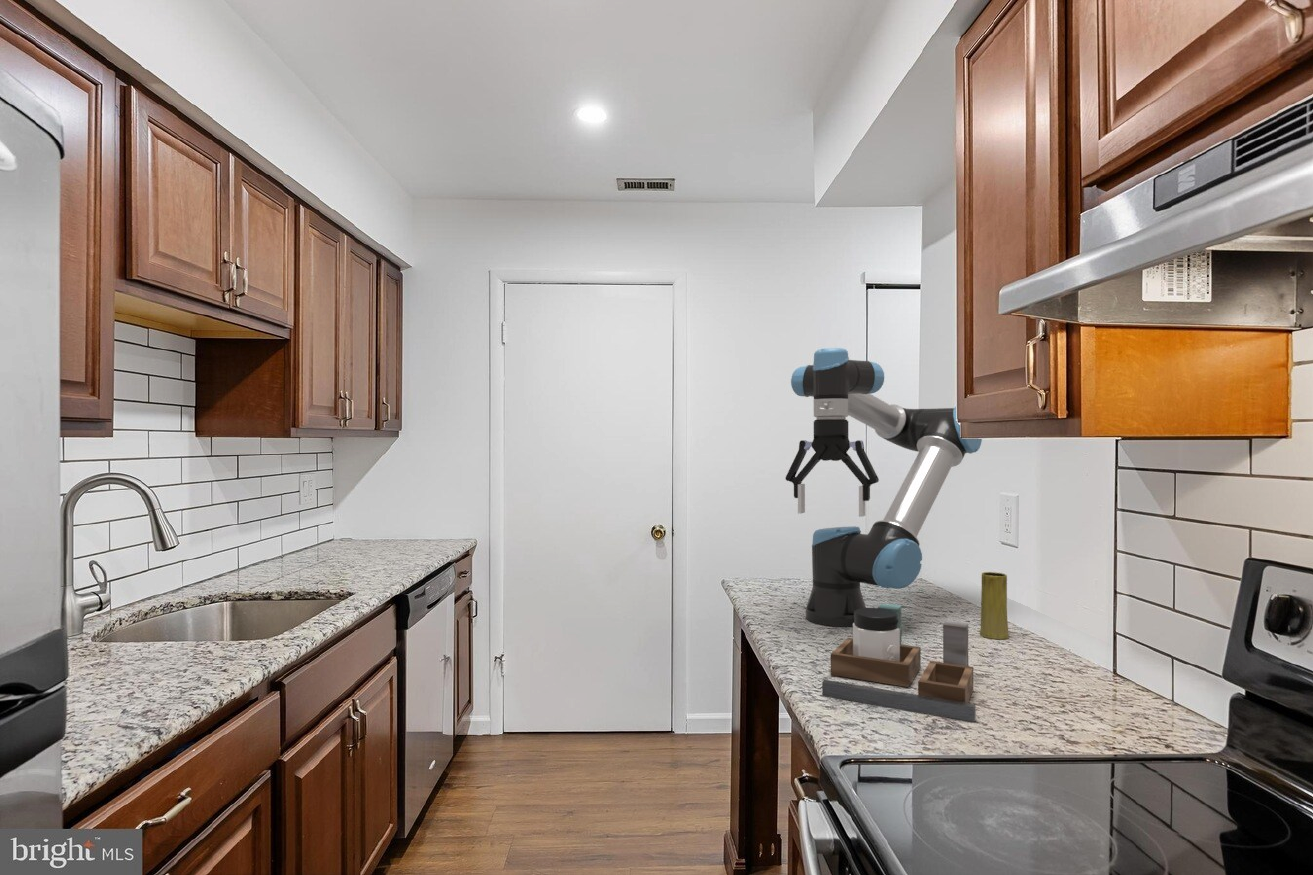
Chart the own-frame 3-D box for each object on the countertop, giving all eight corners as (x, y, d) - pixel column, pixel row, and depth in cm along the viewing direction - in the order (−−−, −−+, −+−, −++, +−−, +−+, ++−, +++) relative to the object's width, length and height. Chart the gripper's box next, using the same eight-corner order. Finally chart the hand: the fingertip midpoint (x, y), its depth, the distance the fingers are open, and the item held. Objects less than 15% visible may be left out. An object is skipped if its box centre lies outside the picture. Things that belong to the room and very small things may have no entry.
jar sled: (857, 646, 159) (857, 600, 159) (927, 656, 152) (927, 608, 152) (830, 674, 141) (830, 622, 141) (908, 686, 134) (908, 632, 134)
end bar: (824, 692, 131) (824, 679, 131) (975, 718, 119) (975, 704, 119) (822, 695, 130) (822, 682, 130) (974, 722, 118) (974, 707, 118)
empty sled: (936, 669, 143) (936, 619, 143) (978, 675, 140) (977, 623, 139) (918, 704, 125) (918, 646, 125) (964, 712, 121) (964, 652, 121)
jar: (875, 684, 136) (875, 619, 136) (843, 672, 143) (843, 610, 143) (909, 676, 140) (908, 613, 140) (877, 664, 147) (876, 605, 147)
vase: (1006, 641, 163) (1005, 577, 163) (976, 636, 167) (976, 574, 167) (1011, 635, 168) (1011, 573, 168) (983, 631, 172) (982, 570, 172)
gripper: (771, 419, 165) (771, 513, 165) (884, 417, 152) (885, 519, 152) (782, 419, 171) (783, 510, 171) (892, 418, 159) (892, 515, 159)
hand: (831, 514), depth 162 cm, fingers open, 13 cm apart
